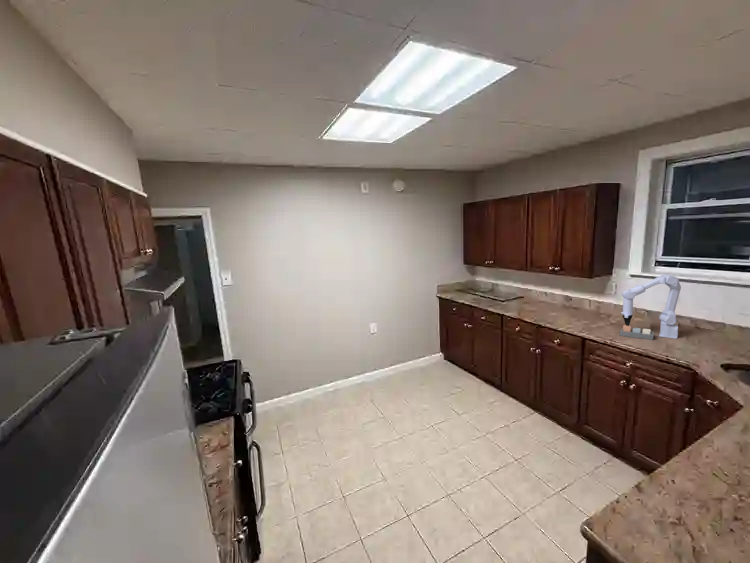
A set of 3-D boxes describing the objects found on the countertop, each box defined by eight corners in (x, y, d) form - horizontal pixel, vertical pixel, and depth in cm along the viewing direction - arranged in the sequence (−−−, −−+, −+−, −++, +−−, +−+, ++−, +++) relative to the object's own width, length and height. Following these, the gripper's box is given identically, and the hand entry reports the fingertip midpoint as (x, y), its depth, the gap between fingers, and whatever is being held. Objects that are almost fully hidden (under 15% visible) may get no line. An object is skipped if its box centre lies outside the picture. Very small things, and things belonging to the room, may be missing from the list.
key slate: (640, 333, 236) (640, 328, 235) (640, 334, 233) (640, 329, 232) (633, 332, 239) (633, 327, 238) (632, 334, 236) (632, 329, 235)
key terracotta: (631, 330, 239) (631, 325, 239) (630, 331, 236) (630, 326, 236) (623, 329, 242) (624, 324, 242) (623, 331, 239) (623, 326, 239)
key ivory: (650, 334, 232) (650, 329, 232) (650, 336, 229) (650, 331, 229) (642, 333, 235) (643, 328, 234) (642, 335, 232) (642, 330, 231)
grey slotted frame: (653, 336, 233) (654, 331, 232) (652, 340, 227) (653, 335, 226) (621, 332, 246) (621, 328, 245) (619, 335, 239) (619, 331, 239)
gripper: (622, 304, 245) (621, 321, 247) (619, 308, 234) (618, 326, 236) (634, 305, 240) (633, 323, 242) (631, 309, 230) (631, 328, 232)
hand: (627, 325), depth 239 cm, fingers closed
